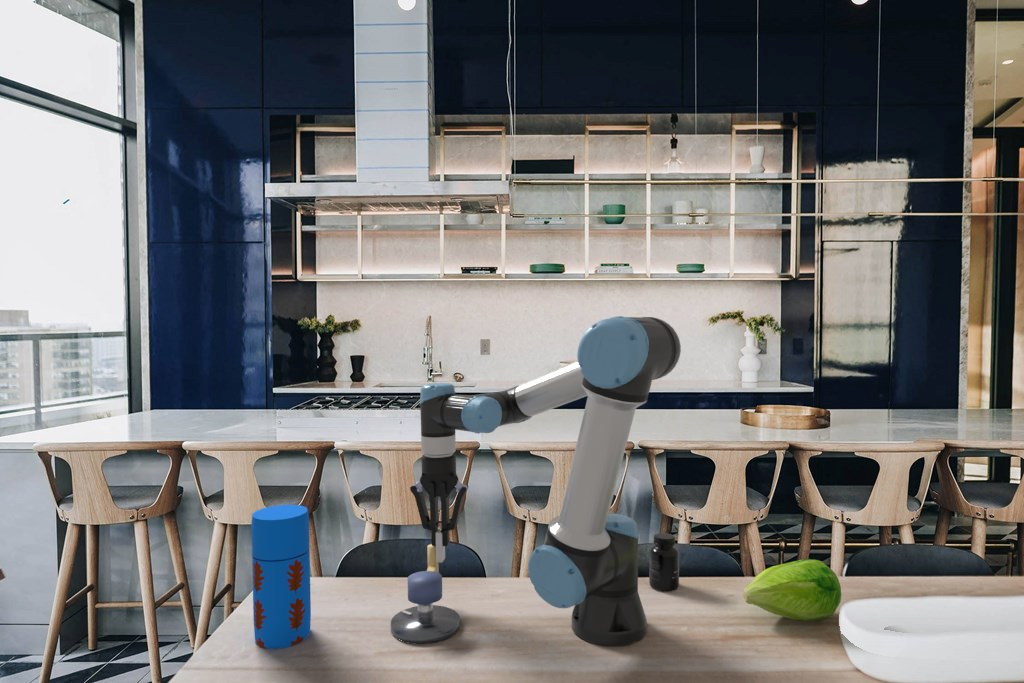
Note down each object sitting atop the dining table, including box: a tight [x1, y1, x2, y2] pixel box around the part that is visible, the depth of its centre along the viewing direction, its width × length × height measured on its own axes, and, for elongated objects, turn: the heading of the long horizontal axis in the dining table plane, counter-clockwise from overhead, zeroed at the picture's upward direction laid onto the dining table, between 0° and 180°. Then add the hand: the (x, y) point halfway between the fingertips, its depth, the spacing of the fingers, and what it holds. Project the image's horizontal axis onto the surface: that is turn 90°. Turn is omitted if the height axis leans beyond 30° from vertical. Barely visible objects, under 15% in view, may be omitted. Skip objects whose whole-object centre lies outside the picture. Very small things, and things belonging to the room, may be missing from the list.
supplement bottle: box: [648, 532, 680, 593], centre depth 154 cm, size 7×7×12 cm
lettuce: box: [742, 558, 842, 622], centre depth 137 cm, size 14×20×12 cm
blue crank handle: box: [407, 543, 443, 605], centre depth 139 cm, size 16×7×7 cm, turn 178°
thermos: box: [251, 504, 312, 650], centre depth 131 cm, size 11×11×25 cm
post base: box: [390, 603, 461, 645], centre depth 135 cm, size 14×14×6 cm
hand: (440, 560), depth 145 cm, fingers closed
